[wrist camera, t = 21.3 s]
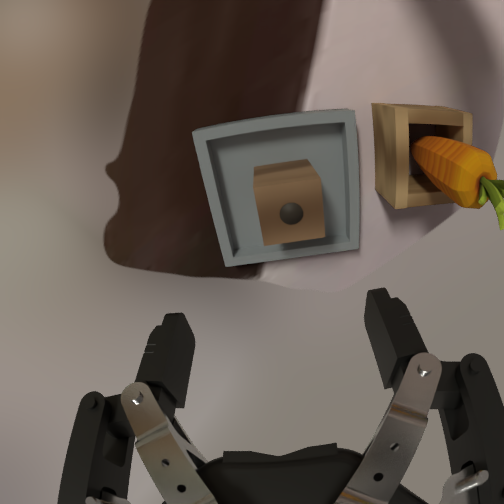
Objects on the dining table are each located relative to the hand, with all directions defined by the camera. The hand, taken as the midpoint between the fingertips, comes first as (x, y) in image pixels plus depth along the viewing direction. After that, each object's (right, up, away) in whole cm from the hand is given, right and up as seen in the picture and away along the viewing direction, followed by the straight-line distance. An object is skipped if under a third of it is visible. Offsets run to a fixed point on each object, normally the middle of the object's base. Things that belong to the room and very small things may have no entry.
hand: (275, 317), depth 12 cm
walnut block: (+2, +9, +15) cm, 17 cm away
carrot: (+15, +14, +12) cm, 24 cm away
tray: (+2, +9, +15) cm, 18 cm away
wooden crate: (+15, +14, +12) cm, 24 cm away
